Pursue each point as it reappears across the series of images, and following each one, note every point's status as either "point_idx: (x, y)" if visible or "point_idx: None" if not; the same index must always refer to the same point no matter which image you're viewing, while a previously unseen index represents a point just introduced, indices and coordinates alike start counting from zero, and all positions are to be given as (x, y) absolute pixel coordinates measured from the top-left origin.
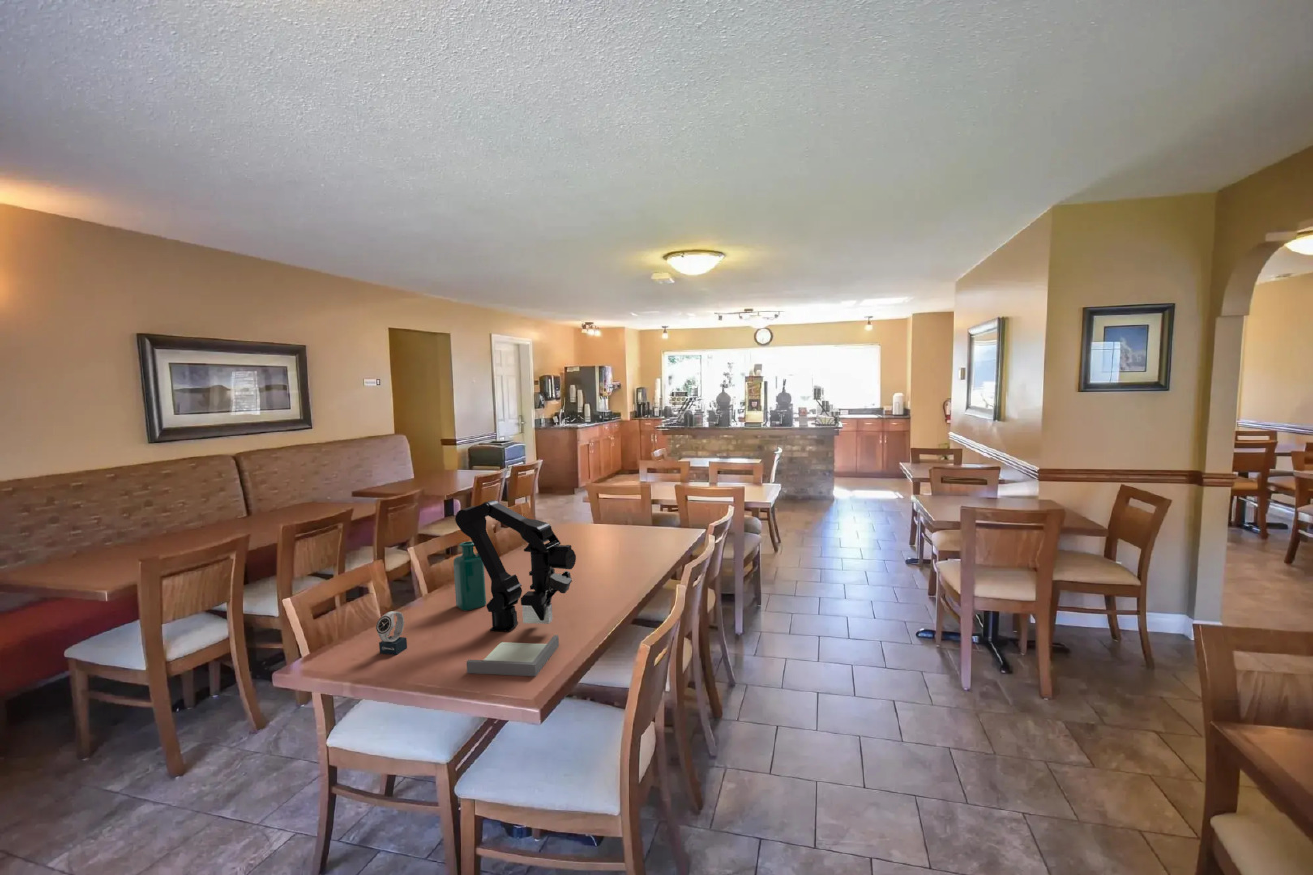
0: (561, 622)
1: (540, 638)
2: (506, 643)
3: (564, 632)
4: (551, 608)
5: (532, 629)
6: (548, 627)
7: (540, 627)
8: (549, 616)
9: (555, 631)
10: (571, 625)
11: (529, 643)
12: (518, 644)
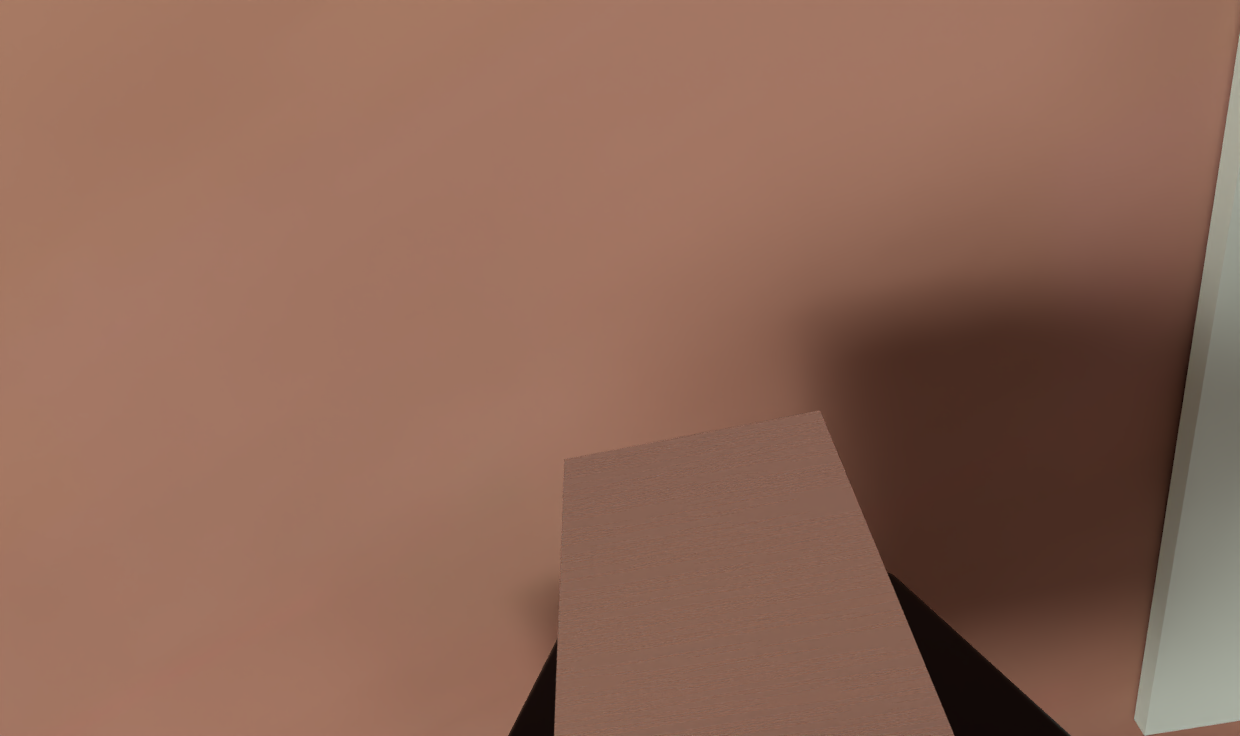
0: (160, 380)
1: (919, 359)
2: (1188, 668)
3: (549, 57)
4: (601, 718)
5: None
6: (459, 469)
7: (510, 572)
8: (798, 535)
9: (567, 269)
10: (160, 106)
11: (1201, 402)
12: (1231, 526)
